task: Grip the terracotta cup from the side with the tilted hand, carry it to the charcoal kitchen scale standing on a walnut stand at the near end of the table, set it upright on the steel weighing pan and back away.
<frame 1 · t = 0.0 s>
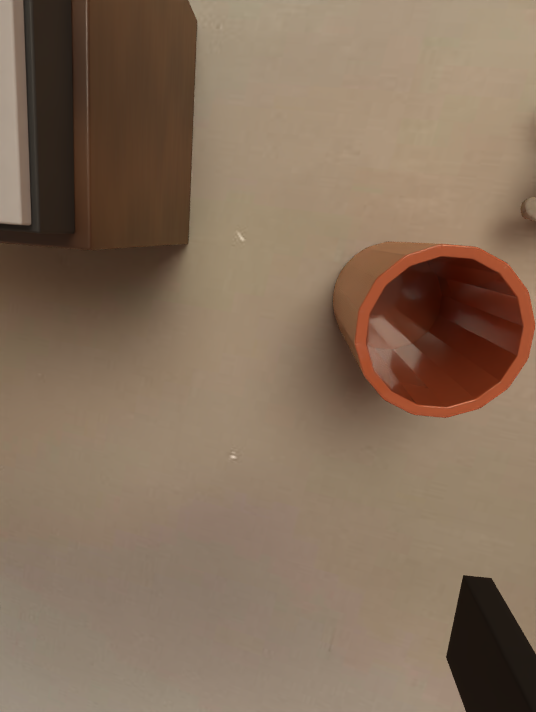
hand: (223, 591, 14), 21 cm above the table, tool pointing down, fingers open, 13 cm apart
stand: (90, 129, 30), on the table
cup: (388, 299, 32), on the table
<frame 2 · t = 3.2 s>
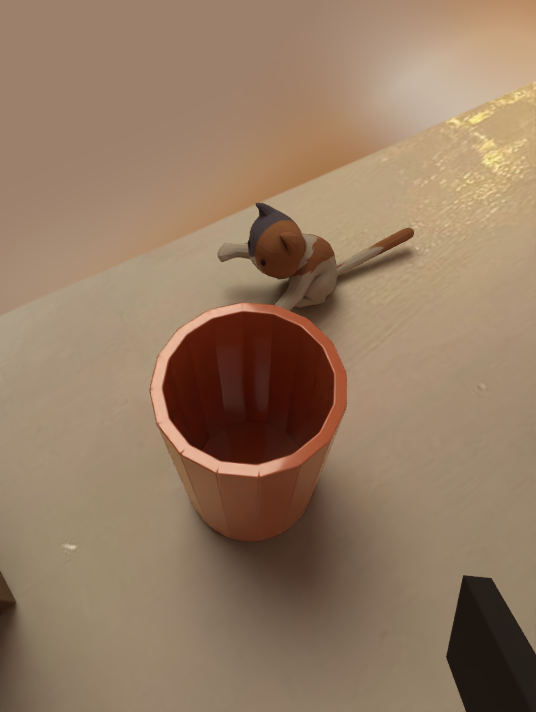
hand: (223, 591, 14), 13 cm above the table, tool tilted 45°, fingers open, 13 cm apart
toy: (328, 280, 37), on the table
cup: (251, 475, 29), on the table
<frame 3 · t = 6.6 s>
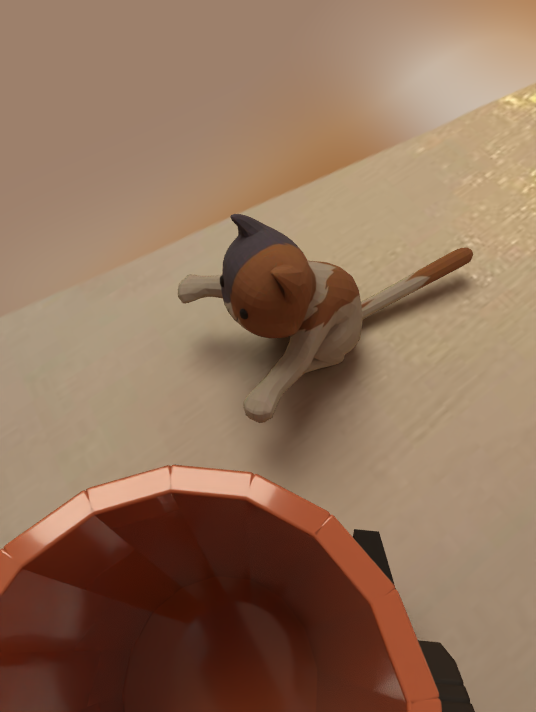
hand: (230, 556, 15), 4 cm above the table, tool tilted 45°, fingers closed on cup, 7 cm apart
toy: (347, 326, 25), on the table
cup: (222, 680, 17), on the table, touching gripper
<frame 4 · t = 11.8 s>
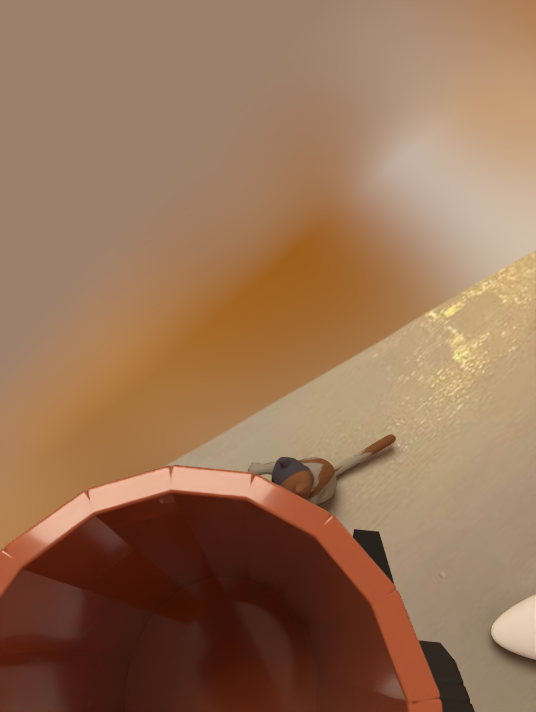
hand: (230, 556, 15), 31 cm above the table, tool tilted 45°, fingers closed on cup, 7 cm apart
toy: (330, 476, 48), on the table
cup: (222, 680, 17), point 27 cm above the table, touching gripper
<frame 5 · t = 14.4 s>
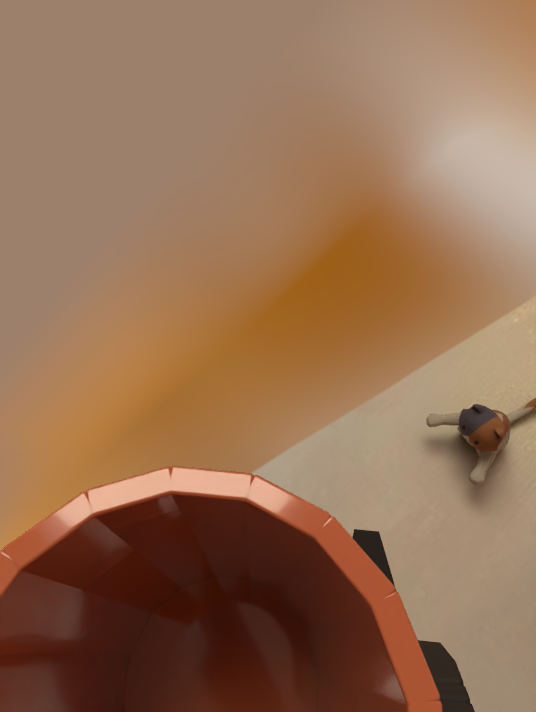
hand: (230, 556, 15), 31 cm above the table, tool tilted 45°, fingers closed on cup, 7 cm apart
toy: (493, 430, 51), on the table
cup: (222, 681, 17), point 27 cm above the table, touching gripper
when the fingers open (23 cm above the table, at t = 17.0 s): cup stays where it is, resting on scale.
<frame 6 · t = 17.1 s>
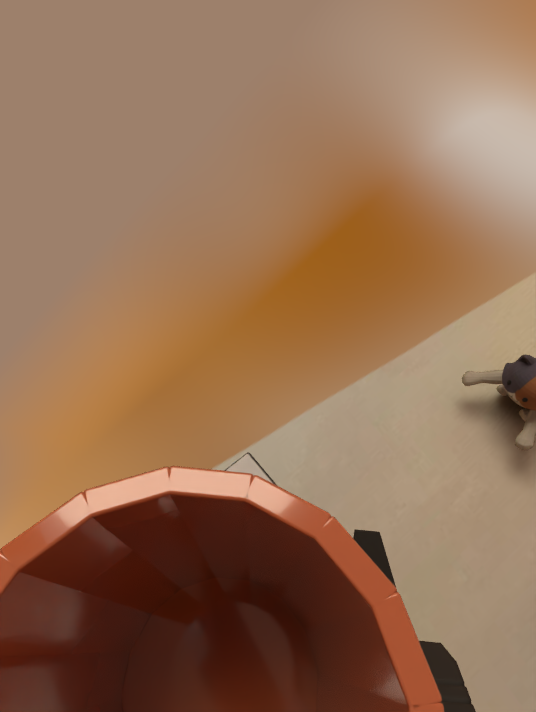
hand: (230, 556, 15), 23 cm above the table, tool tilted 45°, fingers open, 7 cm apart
toy: (535, 392, 45), on the table
cup: (221, 682, 17), point 19 cm above the table, touching scale
scale: (225, 674, 19), resting on stand
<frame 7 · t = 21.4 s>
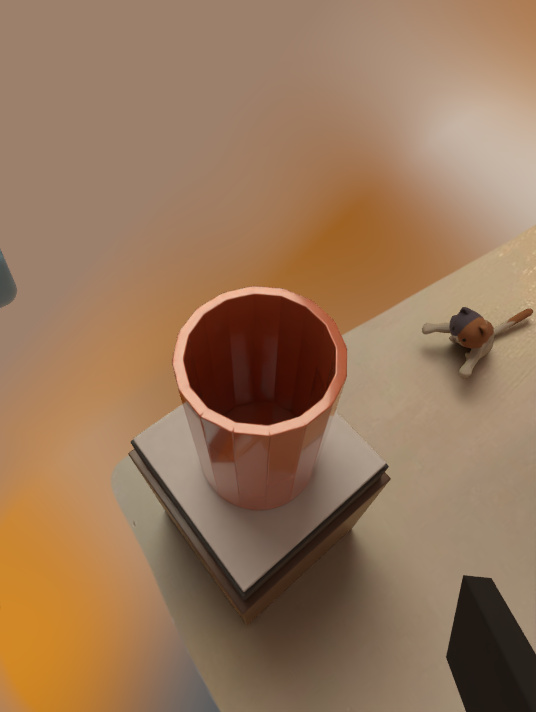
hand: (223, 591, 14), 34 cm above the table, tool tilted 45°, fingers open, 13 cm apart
stand: (257, 518, 47), on the table
toy: (480, 342, 59), on the table
cup: (259, 451, 31), point 19 cm above the table, touching scale
scale: (258, 465, 34), resting on stand
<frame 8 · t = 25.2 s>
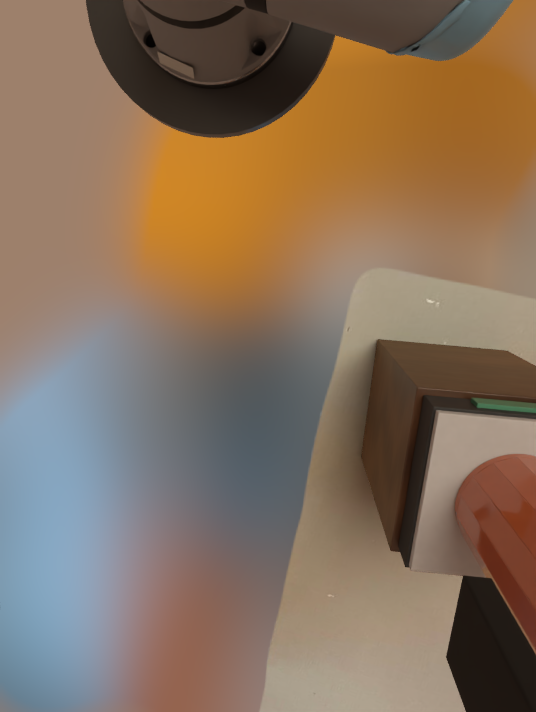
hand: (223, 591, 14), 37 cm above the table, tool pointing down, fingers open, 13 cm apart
stand: (431, 405, 50), on the table
cup: (511, 505, 32), point 19 cm above the table, touching scale
scale: (494, 481, 35), resting on stand
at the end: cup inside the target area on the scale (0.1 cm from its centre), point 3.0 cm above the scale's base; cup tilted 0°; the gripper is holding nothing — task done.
